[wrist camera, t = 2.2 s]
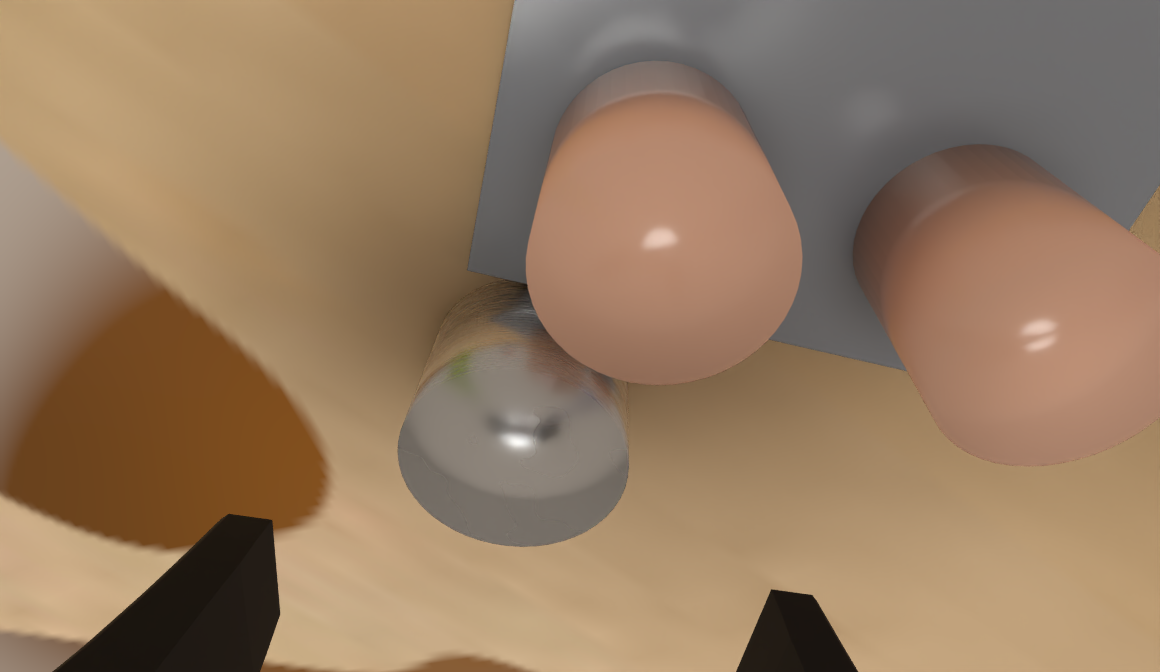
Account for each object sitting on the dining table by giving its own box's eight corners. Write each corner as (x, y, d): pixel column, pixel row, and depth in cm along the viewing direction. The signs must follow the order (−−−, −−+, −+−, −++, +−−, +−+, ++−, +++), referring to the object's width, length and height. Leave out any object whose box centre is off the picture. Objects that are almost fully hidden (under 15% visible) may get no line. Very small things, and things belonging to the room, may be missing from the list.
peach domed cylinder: (786, 91, 16) (848, 179, 11) (716, 277, 18) (745, 407, 14) (575, 36, 15) (558, 105, 11) (531, 233, 18) (503, 354, 13)
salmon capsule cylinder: (1102, 172, 16) (1272, 285, 12) (995, 342, 18) (1106, 486, 14) (906, 121, 16) (1010, 219, 12) (821, 302, 18) (883, 437, 14)
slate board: (1329, -93, 14) (1347, -92, 13) (1009, 386, 20) (1016, 396, 19) (572, -318, 13) (571, -323, 12) (470, 262, 18) (467, 270, 18)
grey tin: (650, 302, 19) (657, 399, 16) (600, 452, 22) (597, 564, 18) (449, 256, 18) (412, 346, 15) (424, 415, 21) (386, 522, 18)
